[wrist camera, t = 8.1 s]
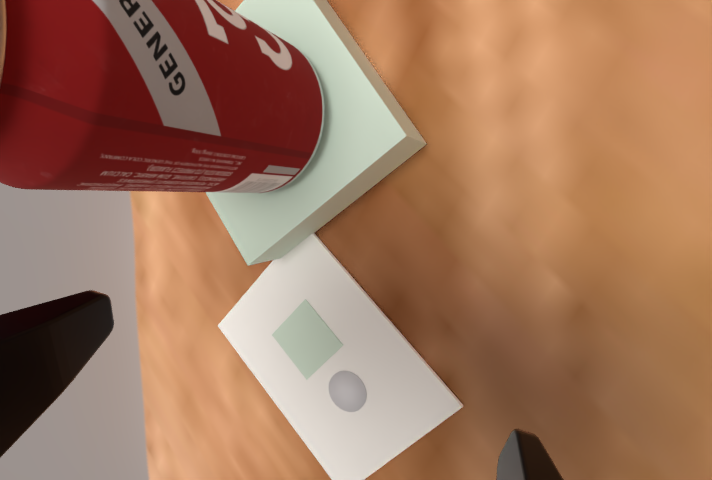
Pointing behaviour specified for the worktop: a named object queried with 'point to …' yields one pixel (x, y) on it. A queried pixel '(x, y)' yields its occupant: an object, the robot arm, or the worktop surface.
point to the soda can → (151, 98)
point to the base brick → (338, 141)
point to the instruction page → (335, 363)
